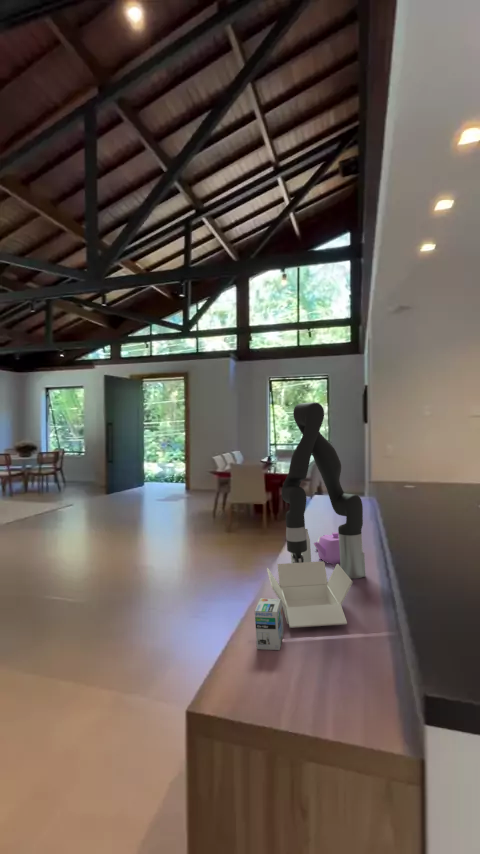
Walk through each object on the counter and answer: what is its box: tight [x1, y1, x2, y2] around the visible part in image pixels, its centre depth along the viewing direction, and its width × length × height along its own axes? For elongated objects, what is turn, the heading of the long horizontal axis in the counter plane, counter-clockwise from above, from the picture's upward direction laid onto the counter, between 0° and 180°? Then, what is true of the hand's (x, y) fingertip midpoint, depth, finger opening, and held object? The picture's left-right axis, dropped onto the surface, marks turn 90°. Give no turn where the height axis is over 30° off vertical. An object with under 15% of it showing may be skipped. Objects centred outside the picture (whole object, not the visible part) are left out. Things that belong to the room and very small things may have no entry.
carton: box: [266, 560, 354, 629], centre depth 153 cm, size 25×32×12 cm
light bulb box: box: [254, 597, 285, 651], centre depth 135 cm, size 11×7×11 cm, turn 168°
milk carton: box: [290, 528, 312, 563], centre depth 195 cm, size 7×7×19 cm
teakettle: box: [313, 531, 340, 565], centre depth 215 cm, size 17×17×12 cm
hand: (299, 581), depth 176 cm, fingers open, 8 cm apart
